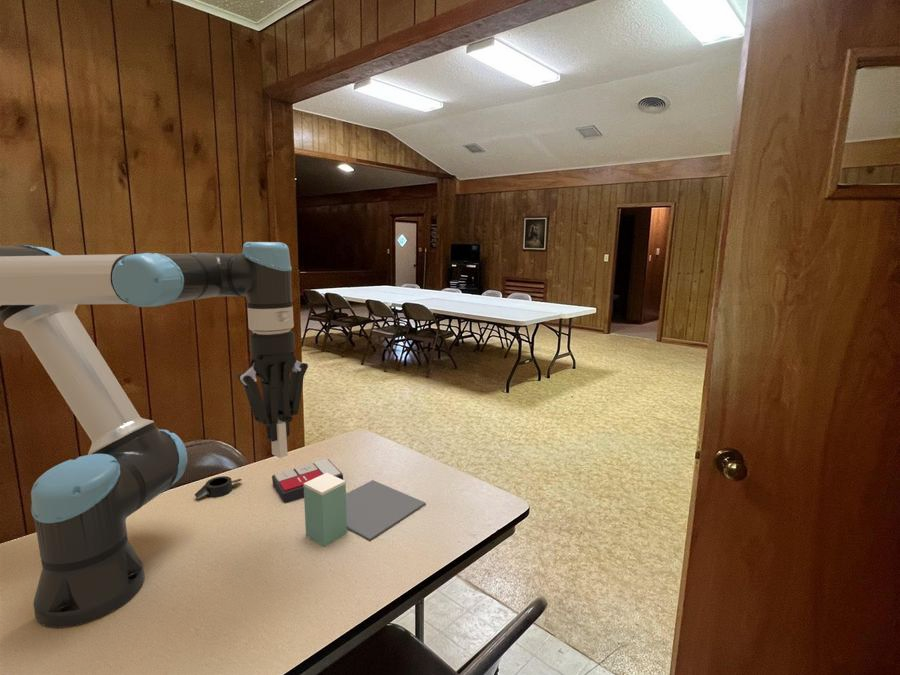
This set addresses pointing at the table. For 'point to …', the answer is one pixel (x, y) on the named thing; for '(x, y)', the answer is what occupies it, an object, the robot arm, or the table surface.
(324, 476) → the block
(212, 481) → the black ring with arms
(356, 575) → the table surface
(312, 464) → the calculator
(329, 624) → the table surface
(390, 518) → the mat
